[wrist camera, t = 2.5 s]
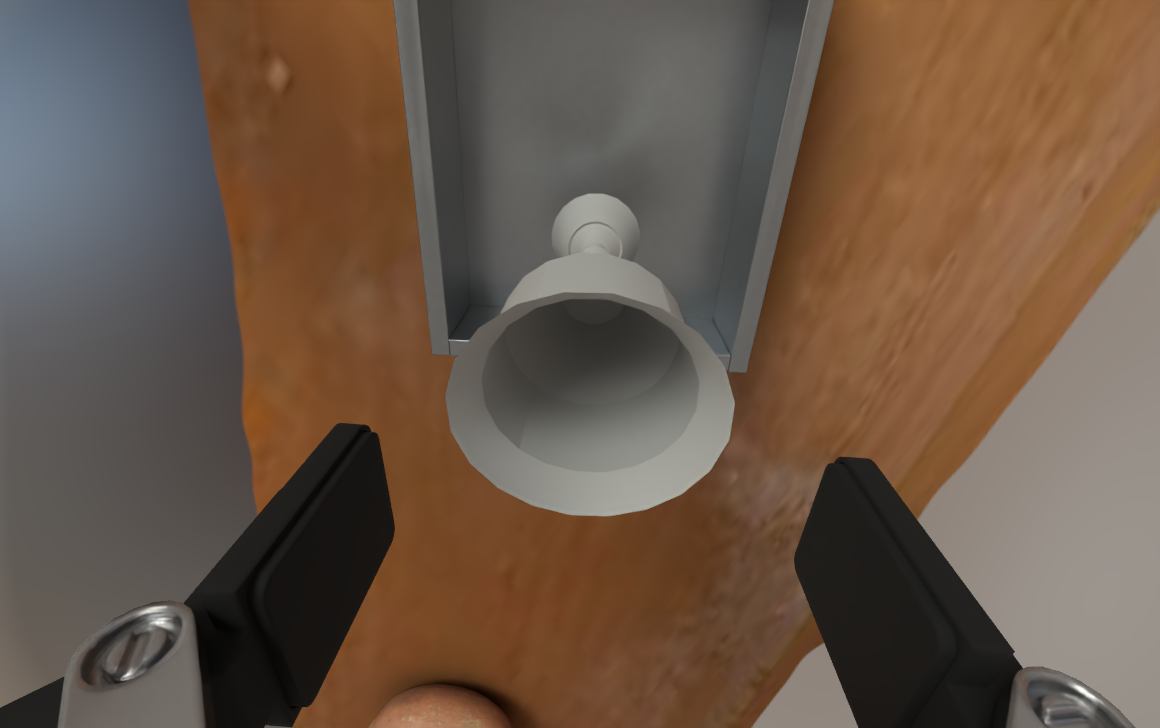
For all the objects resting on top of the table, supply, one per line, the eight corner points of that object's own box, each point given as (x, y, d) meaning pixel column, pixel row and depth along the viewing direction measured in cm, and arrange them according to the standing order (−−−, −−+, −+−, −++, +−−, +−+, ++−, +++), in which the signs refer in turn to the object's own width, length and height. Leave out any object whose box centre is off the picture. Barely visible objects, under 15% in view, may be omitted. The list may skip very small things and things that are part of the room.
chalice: (672, 188, 27) (774, 319, 11) (645, 303, 30) (694, 532, 14) (539, 165, 27) (448, 266, 11) (526, 284, 30) (441, 496, 14)
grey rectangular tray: (457, 316, 31) (431, 355, 27) (423, -101, 22) (375, -155, 17) (724, 332, 31) (746, 373, 26) (809, -83, 22) (866, -133, 17)
